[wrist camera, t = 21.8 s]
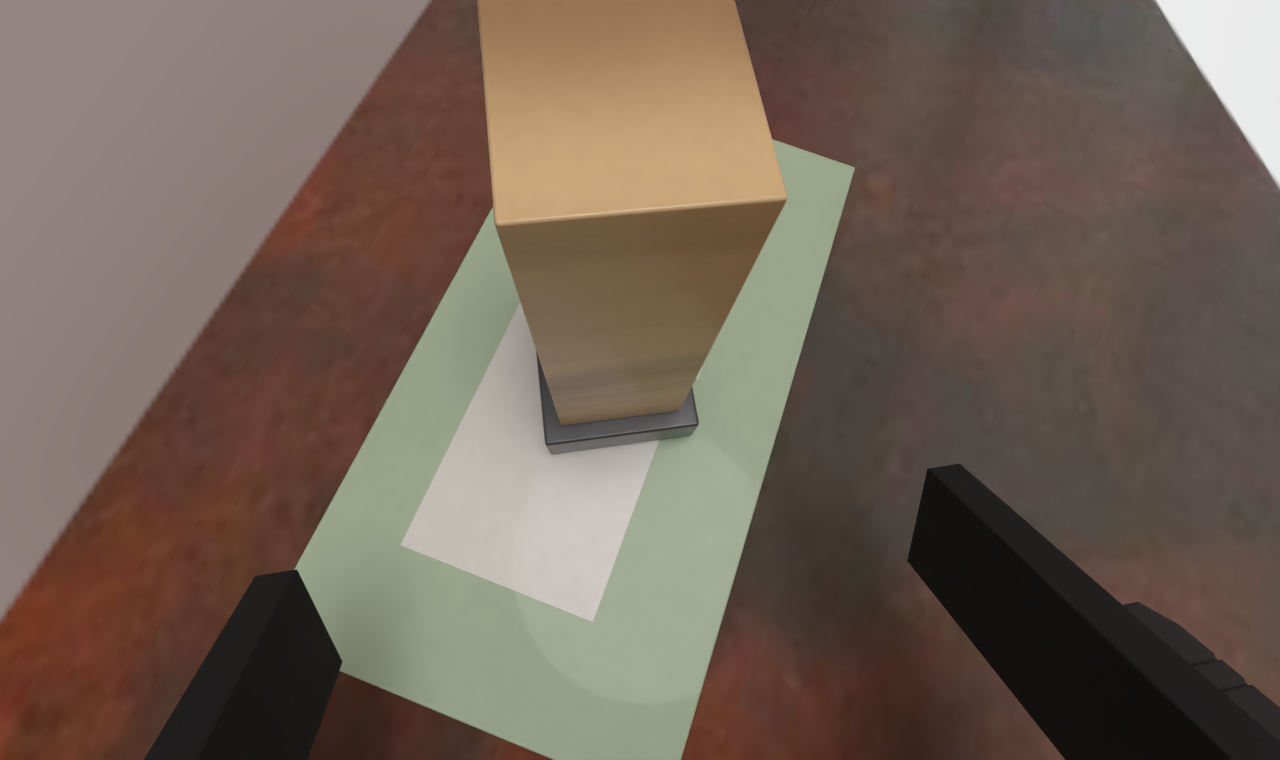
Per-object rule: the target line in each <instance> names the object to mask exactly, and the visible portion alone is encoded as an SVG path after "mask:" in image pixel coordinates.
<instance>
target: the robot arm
mask: <svg viewBox="0 0 1280 760" xmlns="http://www.w3.org/2000/svg"><path fill="white" fill-rule="evenodd" d="M908 562H909V563H910V565H911V566H912V567H913V569H914V570H915V571H916V572H917V574H918V575H919V576H920V577H921V579H922V580H923V581H924V582H925V584H926V585H927V586H928V587H929V589H930V590H931V591H932V592H933V594H934V595H935V596H936V597H937V599H938V600H939V601H940V602H941V604H942V605H943V606H944V608H945V609H946V610H947V611H948V613H949V614H950V615H951V616H952V618H953V619H954V620H955V621H956V623H957V624H958V625H959V626H960V628H961V629H962V630H963V631H964V633H965V634H966V635H967V636H968V638H969V639H970V640H971V641H972V643H973V644H974V645H975V647H976V648H977V649H978V650H979V652H980V653H981V654H982V655H983V657H984V658H985V659H986V660H987V662H988V663H989V664H990V665H991V667H992V668H993V669H994V670H995V672H996V673H997V674H998V675H999V677H1000V678H1001V679H1002V680H1003V682H1004V683H1005V684H1006V686H1007V687H1008V688H1009V689H1010V691H1011V692H1012V693H1013V694H1014V696H1015V697H1016V698H1017V699H1018V701H1019V702H1020V703H1021V704H1022V706H1023V707H1024V708H1025V709H1026V711H1027V712H1028V713H1029V714H1030V716H1031V717H1032V718H1033V720H1034V721H1035V722H1036V723H1037V725H1038V726H1039V727H1040V728H1041V730H1042V731H1043V732H1044V733H1045V735H1046V736H1047V737H1048V738H1049V740H1050V741H1051V742H1052V743H1053V745H1054V746H1055V747H1056V748H1057V750H1058V751H1059V752H1060V753H1061V755H1062V756H1063V757H1064V759H1065V760H1280V708H1279V707H1278V706H1277V705H1276V704H1275V703H1273V702H1272V701H1271V700H1270V699H1269V698H1267V697H1266V696H1265V695H1264V694H1262V693H1261V692H1260V691H1259V690H1258V689H1256V688H1255V687H1254V686H1253V685H1248V684H1246V683H1245V681H1244V678H1243V677H1242V676H1241V675H1239V674H1238V673H1237V672H1236V671H1234V670H1233V669H1232V668H1231V667H1230V666H1228V665H1227V664H1226V663H1225V662H1224V661H1222V660H1217V659H1216V658H1215V656H1214V653H1213V652H1211V651H1210V650H1209V649H1208V648H1206V647H1205V646H1204V645H1203V644H1202V643H1200V642H1199V641H1198V640H1197V639H1196V638H1194V637H1193V636H1192V635H1191V634H1189V633H1188V632H1187V631H1186V630H1185V629H1183V628H1182V627H1181V626H1180V625H1178V624H1177V623H1175V622H1173V621H1171V620H1169V619H1168V618H1166V617H1164V616H1162V615H1161V614H1159V613H1157V612H1155V611H1153V610H1152V609H1150V608H1148V607H1146V606H1144V605H1143V604H1141V603H1139V602H1135V603H1130V604H1125V605H1122V604H1121V603H1120V602H1118V601H1117V600H1116V599H1115V598H1114V597H1113V596H1111V595H1110V594H1109V593H1108V592H1107V591H1106V590H1105V589H1103V588H1102V587H1101V586H1100V585H1099V584H1098V583H1096V582H1095V581H1094V580H1093V579H1092V578H1091V577H1090V576H1088V575H1087V574H1086V573H1085V572H1084V571H1083V570H1081V569H1080V568H1079V567H1078V566H1077V565H1076V564H1075V563H1073V562H1072V561H1071V560H1070V559H1069V558H1068V557H1067V556H1065V555H1064V554H1063V553H1062V552H1061V551H1060V550H1058V549H1057V548H1056V547H1055V546H1054V545H1053V544H1052V543H1050V542H1049V541H1048V540H1047V539H1046V538H1045V537H1043V536H1042V535H1041V534H1040V533H1039V532H1038V531H1037V530H1035V529H1034V528H1033V527H1032V526H1031V525H1030V524H1028V523H1027V522H1026V521H1025V520H1024V519H1023V518H1022V517H1020V516H1019V515H1018V514H1017V513H1016V512H1015V511H1013V510H1012V509H1011V508H1010V507H1009V506H1008V505H1007V504H1005V503H1004V502H1003V501H1002V500H1001V499H1000V498H999V497H997V496H996V495H995V494H994V493H993V492H992V491H990V490H989V489H988V488H987V487H986V486H985V485H984V484H982V483H981V482H980V481H979V480H978V479H977V478H975V477H974V476H973V475H972V474H971V473H970V472H969V471H967V470H966V469H965V468H964V467H963V466H962V465H960V464H955V465H949V466H943V467H937V468H930V469H927V474H926V478H925V483H924V487H923V492H922V497H921V501H920V506H919V510H918V515H917V519H916V524H915V529H914V533H913V538H912V542H911V547H910V552H909V556H908ZM341 665H342V660H341V658H340V655H339V653H338V651H337V649H336V647H335V645H334V643H333V641H332V639H331V637H330V635H329V633H328V631H327V629H326V627H325V625H324V623H323V621H322V619H321V617H320V615H319V613H318V611H317V609H316V607H315V605H314V603H313V600H312V598H311V596H310V594H309V592H308V590H307V588H306V586H305V584H304V582H303V580H302V578H301V576H300V574H299V572H298V570H291V571H285V572H279V573H273V574H266V575H260V576H255V578H254V579H253V581H252V582H251V584H250V586H249V587H248V589H247V591H246V592H245V594H244V596H243V597H242V599H241V601H240V602H239V604H238V606H237V607H236V609H235V610H234V612H233V614H232V615H231V617H230V619H229V620H228V622H227V624H226V625H225V627H224V629H223V630H222V632H221V634H220V635H219V637H218V638H217V640H216V642H215V643H214V645H213V647H212V648H211V650H210V652H209V653H208V655H207V657H206V658H205V660H204V662H203V663H202V665H201V667H200V668H199V670H198V671H197V673H196V675H195V676H194V678H193V680H192V681H191V683H190V685H189V686H188V688H187V690H186V691H185V693H184V695H183V696H182V698H181V699H180V701H179V703H178V704H177V706H176V708H175V709H174V711H173V713H172V714H171V716H170V718H169V719H168V721H167V723H166V724H165V726H164V727H163V729H162V731H161V732H160V734H159V736H158V737H157V739H156V741H155V742H154V744H153V746H152V747H151V749H150V751H149V752H148V754H147V756H146V757H145V759H144V760H308V757H309V754H310V751H311V749H312V746H313V743H314V740H315V737H316V735H317V732H318V729H319V726H320V723H321V721H322V718H323V715H324V712H325V710H326V707H327V704H328V701H329V698H330V696H331V693H332V690H333V687H334V684H335V682H336V679H337V676H338V673H339V670H340V668H341Z"/></svg>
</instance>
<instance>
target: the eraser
mask: <svg viewBox="0 0 1280 760" xmlns="http://www.w3.org/2000/svg"><path fill="white" fill-rule="evenodd" d="M477 7H478V20H479V32H480V45H481V58H482V70H483V83H484V96H485V108H486V121H487V134H488V146H489V159H490V172H491V184H492V197H493V210H494V223H495V227H496V230H497V233H498V236H499V239H500V242H501V245H502V248H503V251H504V254H505V257H506V260H507V263H508V266H509V269H510V272H511V275H512V278H513V281H514V284H515V287H516V290H517V293H518V296H519V299H520V302H521V305H522V309H523V312H524V315H525V318H526V321H527V324H528V327H529V330H530V333H531V336H532V339H533V342H534V345H535V348H536V355H537V365H538V376H539V386H540V396H541V407H542V417H543V427H544V437H545V444H546V446H547V448H548V450H549V452H550V454H559V453H566V452H574V451H581V450H589V449H596V448H604V447H611V446H618V445H626V444H633V443H641V442H648V441H656V440H663V439H670V438H678V437H685V436H691V435H692V434H693V432H694V431H695V429H696V428H697V427H698V425H699V420H698V415H697V410H696V404H695V399H694V393H693V388H692V385H693V383H694V381H695V379H696V378H697V376H698V374H699V372H700V370H701V368H702V366H703V364H704V362H705V360H706V358H707V356H708V354H709V352H710V350H711V348H712V346H713V344H714V342H715V340H716V338H717V336H718V334H719V332H720V330H721V328H722V326H723V325H724V323H725V321H726V319H727V317H728V315H729V313H730V311H731V309H732V307H733V305H734V303H735V301H736V299H737V297H738V295H739V293H740V291H741V289H742V287H743V285H744V283H745V281H746V279H747V277H748V275H749V273H750V272H751V270H752V268H753V266H754V264H755V262H756V260H757V258H758V256H759V254H760V252H761V250H762V248H763V246H764V244H765V242H766V240H767V238H768V236H769V234H770V232H771V230H772V228H773V226H774V224H775V222H776V221H777V219H778V217H779V215H780V213H781V211H782V209H783V207H784V205H785V203H786V201H787V193H786V189H785V186H784V182H783V178H782V175H781V171H780V167H779V163H778V160H777V156H776V152H775V149H774V145H773V141H772V137H771V134H770V130H769V126H768V123H767V119H766V115H765V111H764V108H763V104H762V100H761V97H760V93H759V89H758V85H757V82H756V78H755V74H754V71H753V67H752V63H751V60H750V56H749V52H748V48H747V45H746V41H745V37H744V34H743V30H742V26H741V22H740V19H739V15H738V11H737V8H736V4H735V0H477Z"/></svg>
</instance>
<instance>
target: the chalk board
mask: <svg viewBox="0 0 1280 760" xmlns="http://www.w3.org/2000/svg"><path fill="white" fill-rule="evenodd" d="M772 141H773V145H774V149H775V152H776V156H777V160H778V163H779V167H780V171H781V175H782V178H783V182H784V186H785V189H786V193H787V201H786V203H785V205H784V207H783V209H782V211H781V213H780V215H779V217H778V219H777V221H776V222H775V224H774V226H773V228H772V230H771V232H770V234H769V236H768V238H767V240H766V242H765V244H764V246H763V248H762V250H761V252H760V254H759V256H758V258H757V260H756V262H755V264H754V266H753V268H752V270H751V272H750V273H749V275H748V277H747V279H746V281H745V283H744V285H743V287H742V289H741V291H740V293H739V295H738V297H737V299H736V301H735V303H734V305H733V307H732V309H731V311H730V313H729V315H728V317H727V319H726V321H725V323H724V325H723V326H722V328H721V330H720V332H719V334H718V336H717V338H716V340H715V342H714V344H713V346H712V348H711V350H710V352H709V354H708V356H707V358H706V360H705V362H704V364H703V366H702V368H701V370H700V372H699V374H698V376H697V378H696V379H695V381H694V383H693V385H692V388H693V393H694V399H695V404H696V410H697V415H698V420H699V425H698V427H697V428H696V429H695V431H694V432H693V434H692V435H691V436H685V437H678V438H670V439H663V440H656V441H648V442H641V443H633V444H626V445H618V446H611V447H604V448H596V449H589V450H581V451H574V452H566V453H559V454H550V452H549V450H548V448H547V446H546V444H545V437H544V427H543V417H542V407H541V396H540V386H539V376H538V365H537V355H536V348H535V345H534V342H533V339H532V336H531V333H530V330H529V327H528V324H527V321H526V318H525V315H524V312H523V309H522V305H521V302H520V299H519V296H518V293H517V290H516V287H515V284H514V281H513V278H512V275H511V272H510V269H509V266H508V263H507V260H506V257H505V254H504V251H503V248H502V245H501V242H500V239H499V236H498V233H497V230H496V227H495V223H494V210H493V207H492V209H491V211H490V213H489V215H488V216H487V218H486V220H485V222H484V224H483V226H482V227H481V229H480V231H479V233H478V235H477V237H476V238H475V240H474V242H473V244H472V246H471V247H470V249H469V251H468V253H467V255H466V257H465V258H464V260H463V262H462V264H461V266H460V268H459V269H458V271H457V273H456V275H455V277H454V279H453V280H452V282H451V284H450V286H449V288H448V289H447V291H446V293H445V295H444V297H443V299H442V300H441V302H440V304H439V306H438V308H437V310H436V311H435V313H434V315H433V317H432V319H431V321H430V322H429V324H428V326H427V328H426V330H425V331H424V333H423V335H422V337H421V339H420V341H419V342H418V344H417V346H416V348H415V350H414V352H413V353H412V355H411V357H410V359H409V361H408V363H407V364H406V366H405V368H404V370H403V372H402V373H401V375H400V377H399V379H398V381H397V383H396V384H395V386H394V388H393V390H392V392H391V394H390V395H389V397H388V399H387V401H386V403H385V405H384V406H383V408H382V410H381V412H380V414H379V416H378V417H377V419H376V421H375V423H374V425H373V426H372V428H371V430H370V432H369V434H368V436H367V437H366V439H365V441H364V443H363V445H362V447H361V448H360V450H359V452H358V454H357V456H356V458H355V459H354V461H353V463H352V465H351V467H350V468H349V470H348V472H347V474H346V476H345V478H344V479H343V481H342V483H341V485H340V487H339V489H338V490H337V492H336V494H335V496H334V498H333V500H332V501H331V503H330V505H329V507H328V509H327V510H326V512H325V514H324V516H323V518H322V520H321V521H320V523H319V525H318V527H317V529H316V531H315V532H314V534H313V536H312V538H311V540H310V542H309V543H308V545H307V547H306V549H305V551H304V552H303V554H302V556H301V558H300V560H299V562H298V563H297V565H296V567H295V569H294V570H298V572H299V574H300V576H301V578H302V580H303V582H304V584H305V586H306V588H307V590H308V592H309V594H310V596H311V598H312V600H313V603H314V605H315V607H316V609H317V611H318V613H319V615H320V617H321V619H322V621H323V623H324V625H325V627H326V629H327V631H328V633H329V635H330V637H331V639H332V641H333V643H334V645H335V647H336V649H337V651H338V653H339V655H340V658H341V660H342V665H341V668H340V670H339V671H340V672H343V673H345V674H348V675H350V676H353V677H355V678H357V679H360V680H362V681H365V682H367V683H369V684H372V685H374V686H377V687H379V688H381V689H384V690H386V691H389V692H391V693H393V694H396V695H398V696H401V697H403V698H406V699H408V700H410V701H413V702H415V703H418V704H420V705H422V706H425V707H427V708H430V709H432V710H434V711H437V712H439V713H442V714H444V715H446V716H449V717H451V718H454V719H456V720H459V721H461V722H463V723H466V724H468V725H471V726H473V727H475V728H478V729H480V730H483V731H485V732H487V733H490V734H492V735H495V736H497V737H499V738H502V739H504V740H507V741H509V742H512V743H514V744H516V745H519V746H521V747H524V748H526V749H528V750H531V751H533V752H536V753H538V754H540V755H543V756H545V757H548V758H550V759H552V760H681V758H682V755H683V751H684V748H685V744H686V741H687V738H688V734H689V731H690V727H691V724H692V721H693V717H694V714H695V710H696V707H697V704H698V700H699V697H700V693H701V690H702V687H703V683H704V680H705V676H706V673H707V670H708V666H709V663H710V659H711V656H712V653H713V649H714V646H715V642H716V639H717V636H718V632H719V629H720V625H721V622H722V619H723V615H724V612H725V608H726V605H727V602H728V598H729V595H730V591H731V588H732V585H733V581H734V578H735V574H736V571H737V568H738V564H739V561H740V557H741V554H742V551H743V547H744V544H745V540H746V537H747V534H748V530H749V527H750V523H751V520H752V517H753V513H754V510H755V506H756V503H757V500H758V496H759V493H760V489H761V486H762V483H763V479H764V476H765V472H766V469H767V466H768V462H769V459H770V455H771V452H772V449H773V445H774V442H775V438H776V435H777V432H778V428H779V425H780V421H781V418H782V415H783V411H784V408H785V404H786V401H787V398H788V394H789V391H790V387H791V384H792V380H793V377H794V374H795V370H796V367H797V363H798V360H799V357H800V353H801V350H802V346H803V343H804V340H805V336H806V333H807V329H808V326H809V323H810V319H811V316H812V312H813V309H814V306H815V302H816V299H817V295H818V292H819V289H820V285H821V282H822V278H823V275H824V272H825V268H826V265H827V261H828V258H829V255H830V251H831V248H832V244H833V241H834V238H835V234H836V231H837V227H838V224H839V221H840V217H841V214H842V210H843V207H844V204H845V200H846V197H847V193H848V190H849V187H850V183H851V180H852V176H853V173H854V170H855V168H854V167H852V166H849V165H846V164H843V163H840V162H837V161H834V160H831V159H828V158H825V157H822V156H820V155H817V154H814V153H811V152H808V151H805V150H802V149H799V148H796V147H793V146H790V145H787V144H785V143H782V142H779V141H776V140H773V139H772Z"/></svg>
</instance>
